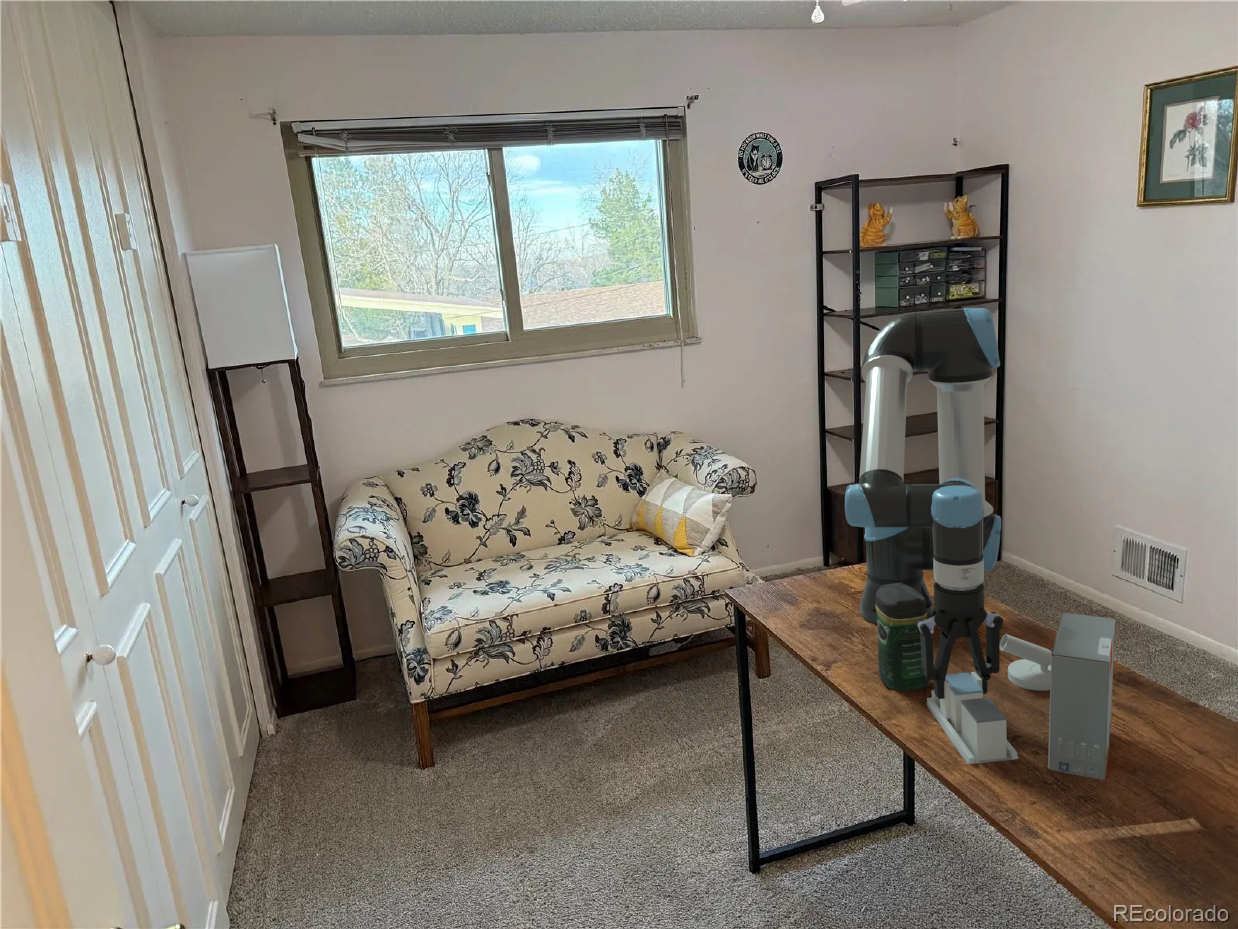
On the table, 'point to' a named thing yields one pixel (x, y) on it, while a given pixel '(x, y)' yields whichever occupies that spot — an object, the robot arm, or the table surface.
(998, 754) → the block
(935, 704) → the rail
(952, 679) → the module
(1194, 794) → the table surface
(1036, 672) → the wall hook
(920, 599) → the coffee jar
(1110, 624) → the hard drive box
